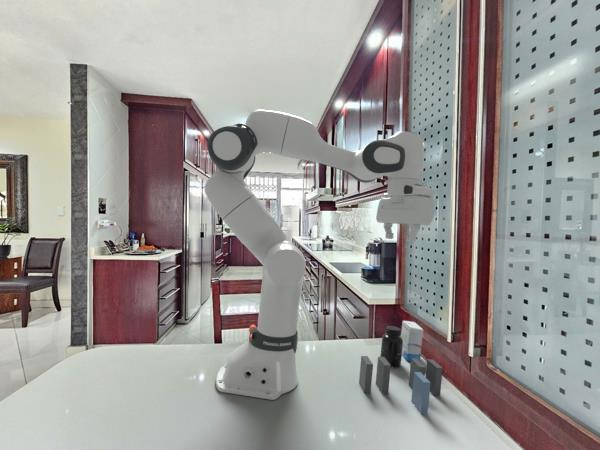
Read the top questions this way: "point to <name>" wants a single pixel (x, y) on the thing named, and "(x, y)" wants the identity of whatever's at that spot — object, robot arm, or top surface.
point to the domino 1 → (366, 374)
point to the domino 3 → (415, 370)
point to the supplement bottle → (392, 346)
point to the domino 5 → (434, 376)
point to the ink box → (411, 340)
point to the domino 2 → (383, 375)
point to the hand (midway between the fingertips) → (399, 240)
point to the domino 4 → (420, 392)
